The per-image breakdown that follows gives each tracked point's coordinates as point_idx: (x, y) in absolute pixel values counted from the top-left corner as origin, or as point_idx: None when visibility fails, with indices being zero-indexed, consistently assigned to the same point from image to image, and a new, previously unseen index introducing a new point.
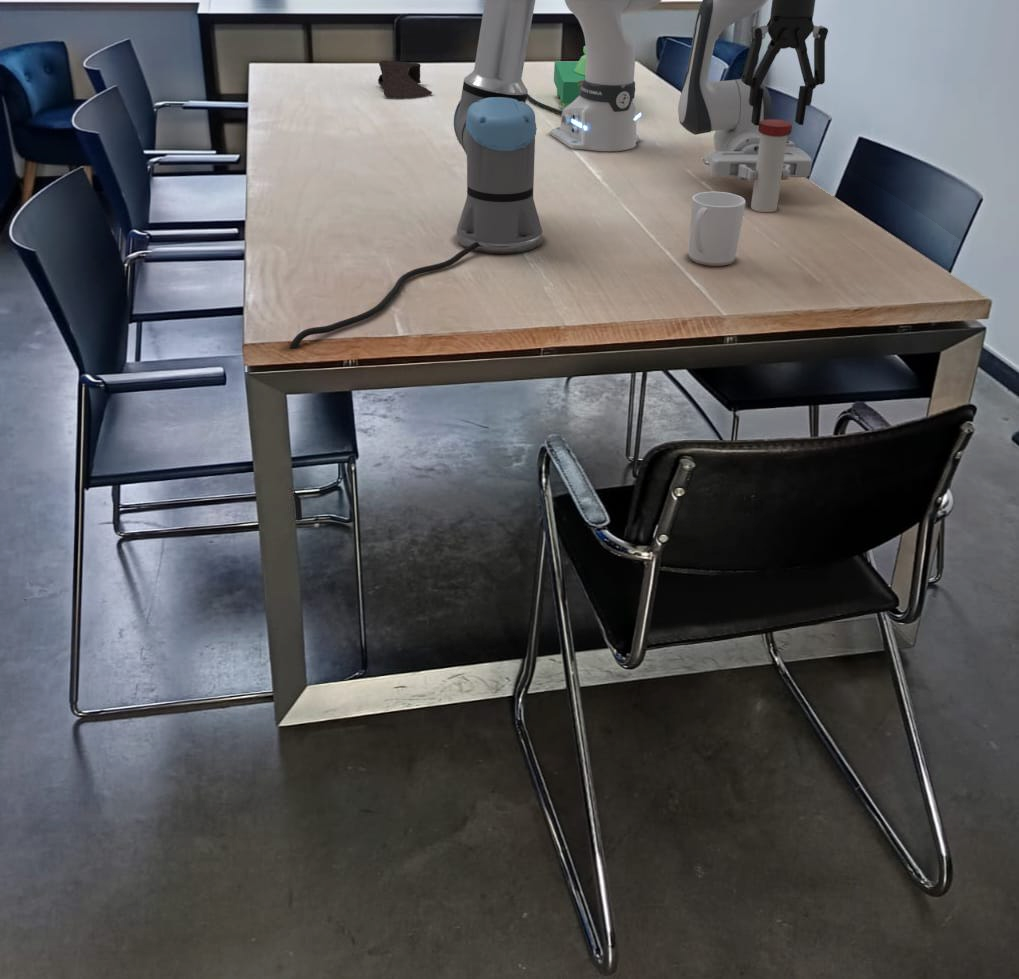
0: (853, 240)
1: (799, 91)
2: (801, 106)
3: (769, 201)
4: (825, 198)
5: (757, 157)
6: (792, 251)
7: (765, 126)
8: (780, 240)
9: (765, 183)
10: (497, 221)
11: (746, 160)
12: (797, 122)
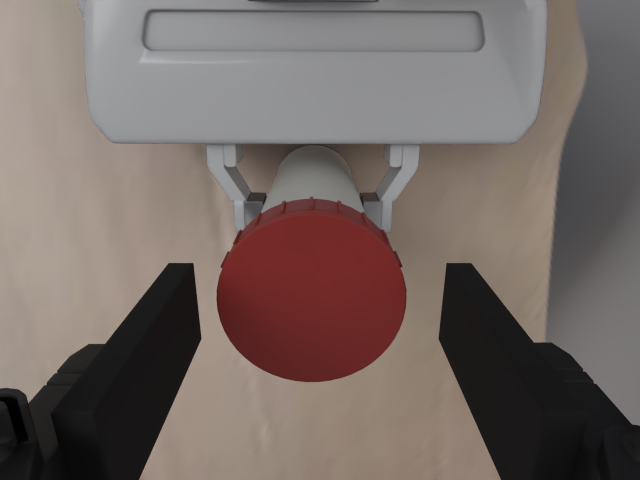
0: (450, 419)
1: (521, 384)
2: (471, 398)
3: None
4: (555, 82)
5: (295, 99)
6: (288, 471)
7: (236, 346)
8: (282, 415)
9: None
10: None
11: (235, 140)
12: (443, 308)
